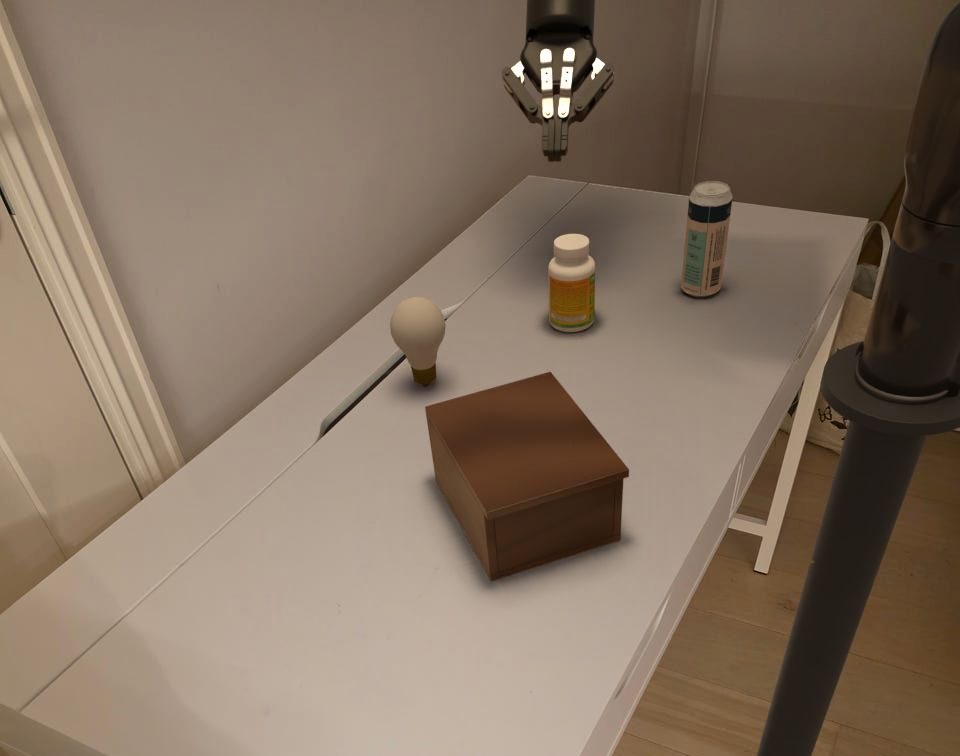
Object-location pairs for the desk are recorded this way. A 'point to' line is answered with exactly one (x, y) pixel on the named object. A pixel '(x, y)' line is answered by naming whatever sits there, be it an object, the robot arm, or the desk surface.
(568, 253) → the supplement bottle
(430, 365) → the light bulb
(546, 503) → the chest
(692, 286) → the beer can
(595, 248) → the desk surface
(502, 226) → the desk surface
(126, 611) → the desk surface
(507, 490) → the lid
